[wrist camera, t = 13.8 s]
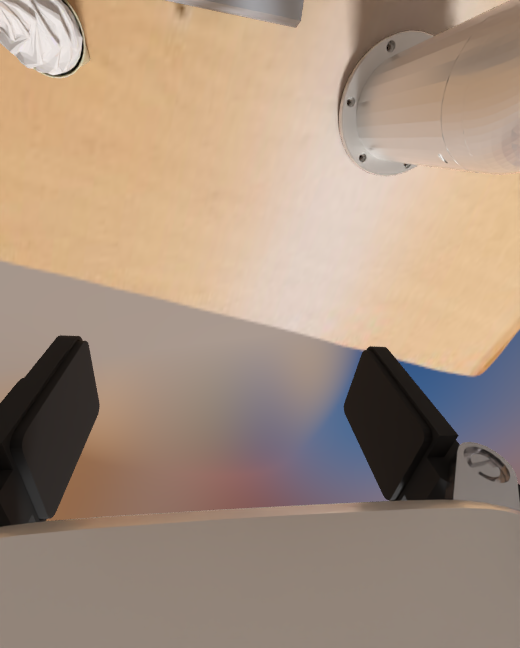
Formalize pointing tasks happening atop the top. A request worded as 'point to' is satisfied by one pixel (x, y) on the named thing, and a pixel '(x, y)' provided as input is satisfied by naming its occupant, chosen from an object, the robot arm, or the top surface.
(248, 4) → the brown block on base
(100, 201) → the top surface
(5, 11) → the ice cream cone
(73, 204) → the top surface
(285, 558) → the robot arm
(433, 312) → the top surface
